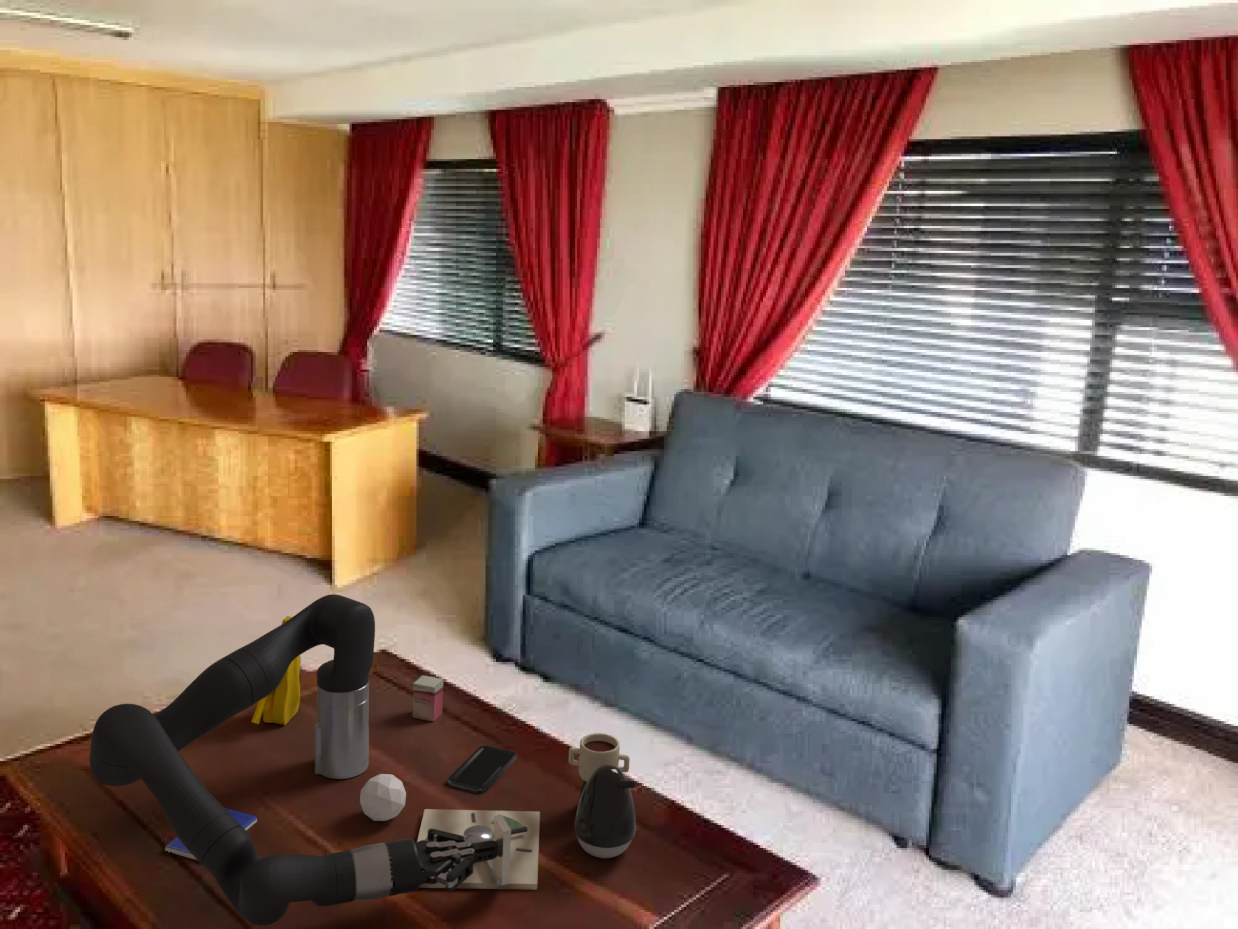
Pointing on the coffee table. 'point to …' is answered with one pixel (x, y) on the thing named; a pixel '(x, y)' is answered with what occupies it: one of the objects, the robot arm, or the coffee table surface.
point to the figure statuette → (281, 697)
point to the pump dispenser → (606, 813)
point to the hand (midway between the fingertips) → (496, 849)
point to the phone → (481, 769)
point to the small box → (427, 698)
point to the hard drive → (241, 818)
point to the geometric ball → (383, 797)
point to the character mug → (597, 755)
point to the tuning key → (502, 838)
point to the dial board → (521, 843)
